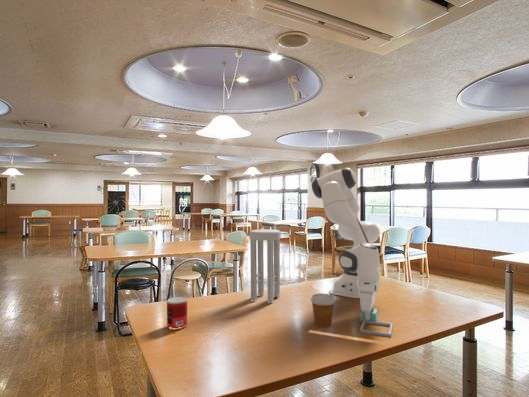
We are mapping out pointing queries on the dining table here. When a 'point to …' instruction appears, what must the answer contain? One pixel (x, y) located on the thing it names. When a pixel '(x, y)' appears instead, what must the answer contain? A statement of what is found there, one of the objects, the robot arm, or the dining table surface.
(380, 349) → the dining table surface
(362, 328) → the tray
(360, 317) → the stake
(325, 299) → the disposable coffee cup
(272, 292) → the stool
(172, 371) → the dining table surface
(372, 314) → the ring
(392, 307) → the dining table surface
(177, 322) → the canned food
